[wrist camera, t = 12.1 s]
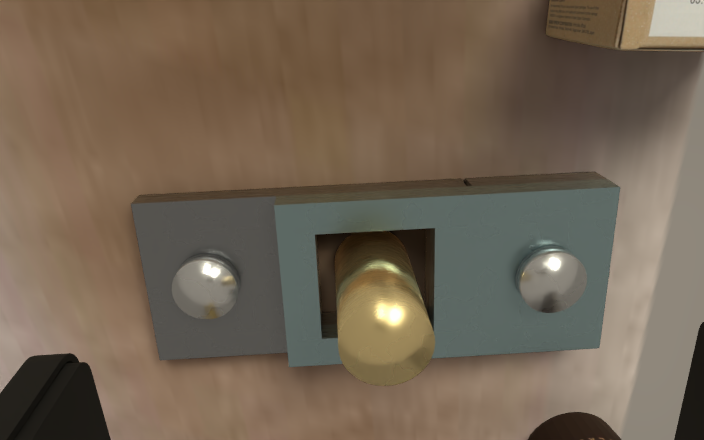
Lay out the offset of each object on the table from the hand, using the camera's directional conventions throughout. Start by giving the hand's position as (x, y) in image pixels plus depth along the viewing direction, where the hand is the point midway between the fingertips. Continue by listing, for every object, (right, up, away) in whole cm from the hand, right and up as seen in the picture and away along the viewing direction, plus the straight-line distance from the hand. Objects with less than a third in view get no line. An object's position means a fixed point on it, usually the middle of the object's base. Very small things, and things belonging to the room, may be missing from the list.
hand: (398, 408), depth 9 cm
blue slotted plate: (+4, +1, +26) cm, 26 cm away
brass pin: (0, 0, +25) cm, 25 cm away
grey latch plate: (-3, 0, +25) cm, 26 cm away
